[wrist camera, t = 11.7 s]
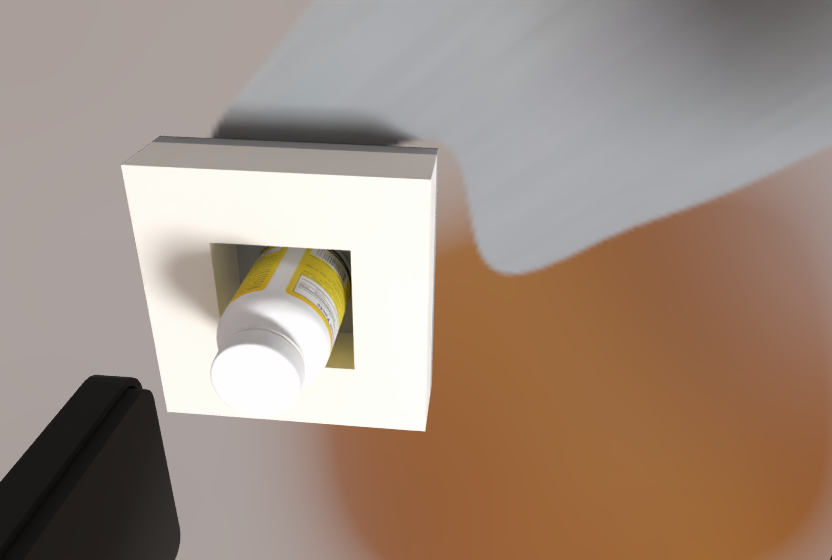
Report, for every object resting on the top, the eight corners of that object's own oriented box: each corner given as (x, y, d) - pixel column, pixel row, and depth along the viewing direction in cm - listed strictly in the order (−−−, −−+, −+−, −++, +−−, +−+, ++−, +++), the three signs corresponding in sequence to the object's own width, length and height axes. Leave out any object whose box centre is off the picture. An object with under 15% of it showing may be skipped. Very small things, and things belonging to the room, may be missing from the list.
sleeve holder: (438, 148, 37) (431, 179, 33) (431, 382, 44) (425, 431, 40) (159, 136, 38) (120, 164, 34) (196, 365, 45) (167, 411, 41)
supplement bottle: (256, 308, 41) (192, 418, 33) (259, 222, 39) (191, 317, 30) (350, 324, 41) (310, 439, 33) (359, 239, 39) (319, 340, 30)
